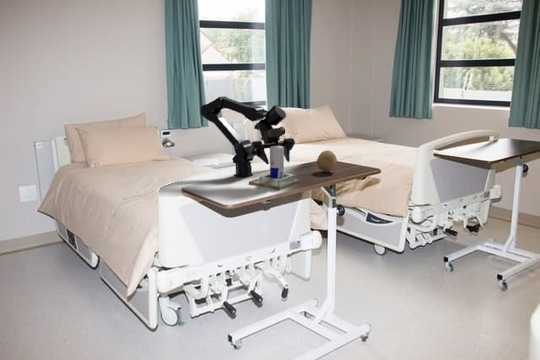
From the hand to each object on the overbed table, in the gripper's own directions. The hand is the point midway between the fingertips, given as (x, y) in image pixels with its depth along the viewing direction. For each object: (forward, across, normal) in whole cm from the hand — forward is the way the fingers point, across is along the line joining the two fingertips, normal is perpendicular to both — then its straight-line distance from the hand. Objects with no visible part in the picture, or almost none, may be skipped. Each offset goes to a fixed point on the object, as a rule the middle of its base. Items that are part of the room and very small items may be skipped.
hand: (278, 162), depth 196 cm
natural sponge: (-1, +30, +15) cm, 34 cm away
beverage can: (+5, 0, +7) cm, 9 cm away
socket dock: (+3, 0, +10) cm, 11 cm away
